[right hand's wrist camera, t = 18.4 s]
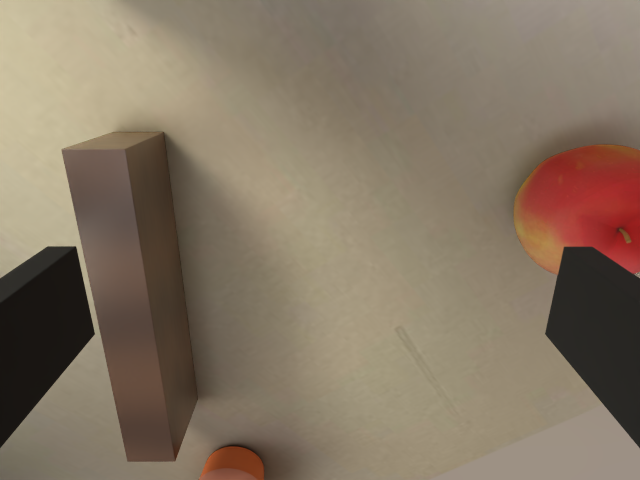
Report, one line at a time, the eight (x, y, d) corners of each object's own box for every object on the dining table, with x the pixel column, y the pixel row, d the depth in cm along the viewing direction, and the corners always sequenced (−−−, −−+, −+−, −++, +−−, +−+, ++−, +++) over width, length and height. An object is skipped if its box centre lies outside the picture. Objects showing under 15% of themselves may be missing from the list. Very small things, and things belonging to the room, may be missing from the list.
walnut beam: (197, 399, 45) (175, 461, 38) (157, 399, 45) (127, 461, 38) (163, 132, 35) (125, 148, 28) (112, 132, 35) (61, 149, 28)
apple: (515, 123, 35) (586, 146, 25) (632, 142, 35) (745, 171, 26) (480, 238, 38) (531, 295, 29) (587, 254, 39) (672, 315, 29)
